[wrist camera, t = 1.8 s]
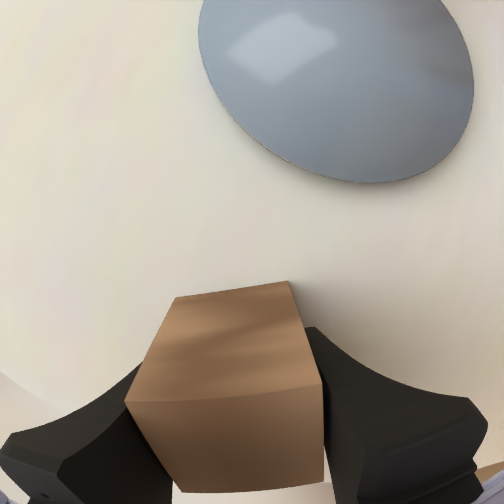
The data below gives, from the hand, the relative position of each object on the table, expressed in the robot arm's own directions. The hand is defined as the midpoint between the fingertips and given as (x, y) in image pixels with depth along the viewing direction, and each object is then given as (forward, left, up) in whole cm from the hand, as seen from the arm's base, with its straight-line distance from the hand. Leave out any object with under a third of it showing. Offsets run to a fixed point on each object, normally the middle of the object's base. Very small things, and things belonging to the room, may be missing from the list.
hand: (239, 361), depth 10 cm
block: (0, 0, -2) cm, 2 cm away
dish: (-6, -11, -2) cm, 13 cm away
